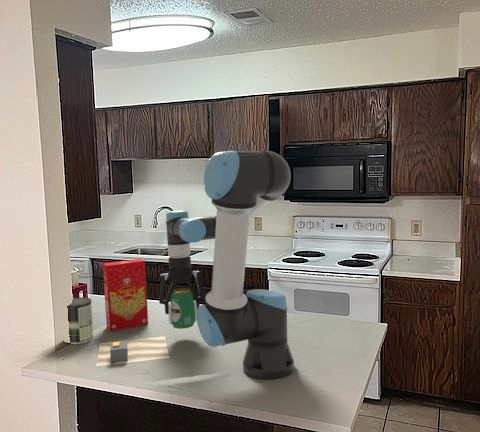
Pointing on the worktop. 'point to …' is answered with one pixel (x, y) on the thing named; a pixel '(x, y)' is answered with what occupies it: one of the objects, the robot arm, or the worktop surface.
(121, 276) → the food packaging
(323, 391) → the worktop surface
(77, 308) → the coffee can
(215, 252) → the robot arm
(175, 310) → the beverage can
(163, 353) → the beige flat sheet
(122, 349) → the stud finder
